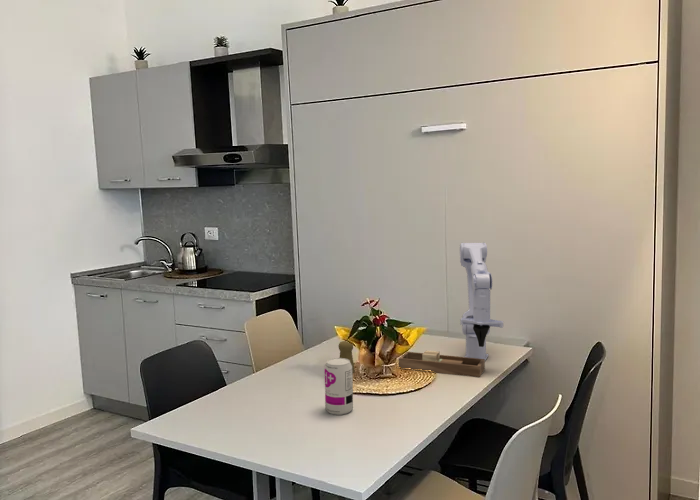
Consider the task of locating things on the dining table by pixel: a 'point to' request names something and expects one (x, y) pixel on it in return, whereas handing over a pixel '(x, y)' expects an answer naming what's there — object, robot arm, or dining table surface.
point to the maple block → (431, 356)
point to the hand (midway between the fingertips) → (481, 346)
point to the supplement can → (338, 386)
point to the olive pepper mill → (346, 352)
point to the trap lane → (444, 364)
